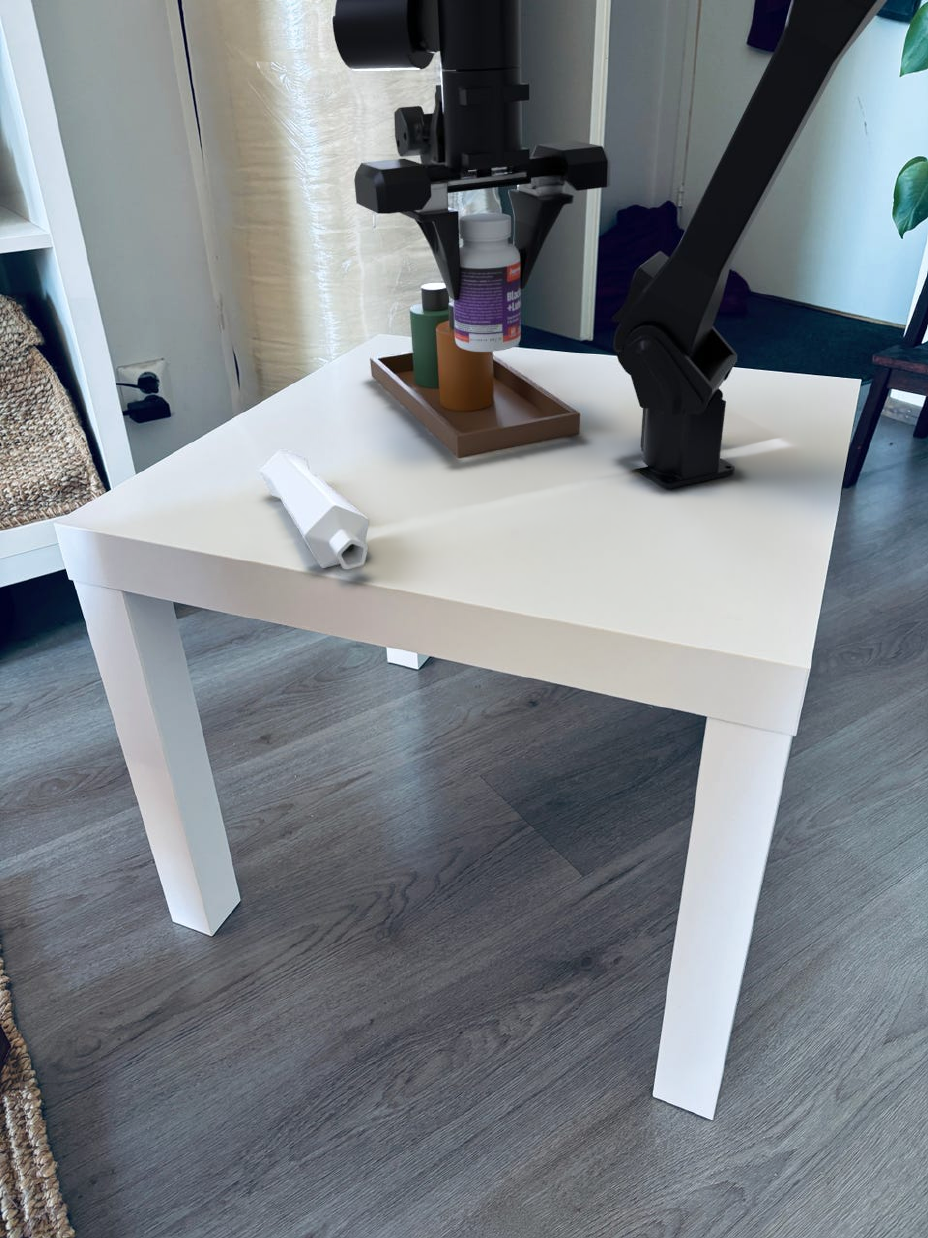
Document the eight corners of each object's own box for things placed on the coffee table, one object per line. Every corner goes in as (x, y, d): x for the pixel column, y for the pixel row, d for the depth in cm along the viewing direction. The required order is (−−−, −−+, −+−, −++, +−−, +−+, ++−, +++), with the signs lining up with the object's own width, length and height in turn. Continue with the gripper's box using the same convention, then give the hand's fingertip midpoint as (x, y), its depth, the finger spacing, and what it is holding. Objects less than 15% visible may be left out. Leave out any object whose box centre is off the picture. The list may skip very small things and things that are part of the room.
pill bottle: (522, 352, 76) (521, 222, 71) (454, 354, 76) (448, 224, 71) (520, 332, 81) (519, 208, 76) (456, 335, 81) (450, 211, 76)
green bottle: (472, 383, 93) (469, 288, 89) (424, 391, 92) (418, 295, 87) (453, 368, 97) (449, 276, 92) (407, 376, 96) (400, 283, 91)
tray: (579, 442, 82) (580, 412, 81) (458, 466, 79) (457, 436, 77) (474, 365, 100) (473, 340, 99) (372, 383, 97) (369, 357, 96)
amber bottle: (502, 405, 88) (500, 305, 83) (452, 415, 86) (447, 314, 82) (481, 389, 92) (478, 292, 87) (432, 398, 90) (426, 300, 85)
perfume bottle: (323, 481, 76) (396, 562, 64) (275, 509, 75) (340, 596, 64) (299, 433, 73) (371, 509, 62) (248, 461, 72) (311, 543, 61)
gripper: (546, 56, 77) (546, 259, 86) (322, 73, 71) (345, 288, 80) (618, 60, 68) (609, 285, 77) (369, 79, 63) (389, 320, 71)
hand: (487, 293), depth 76 cm, fingers closed on pill bottle, 5 cm apart
